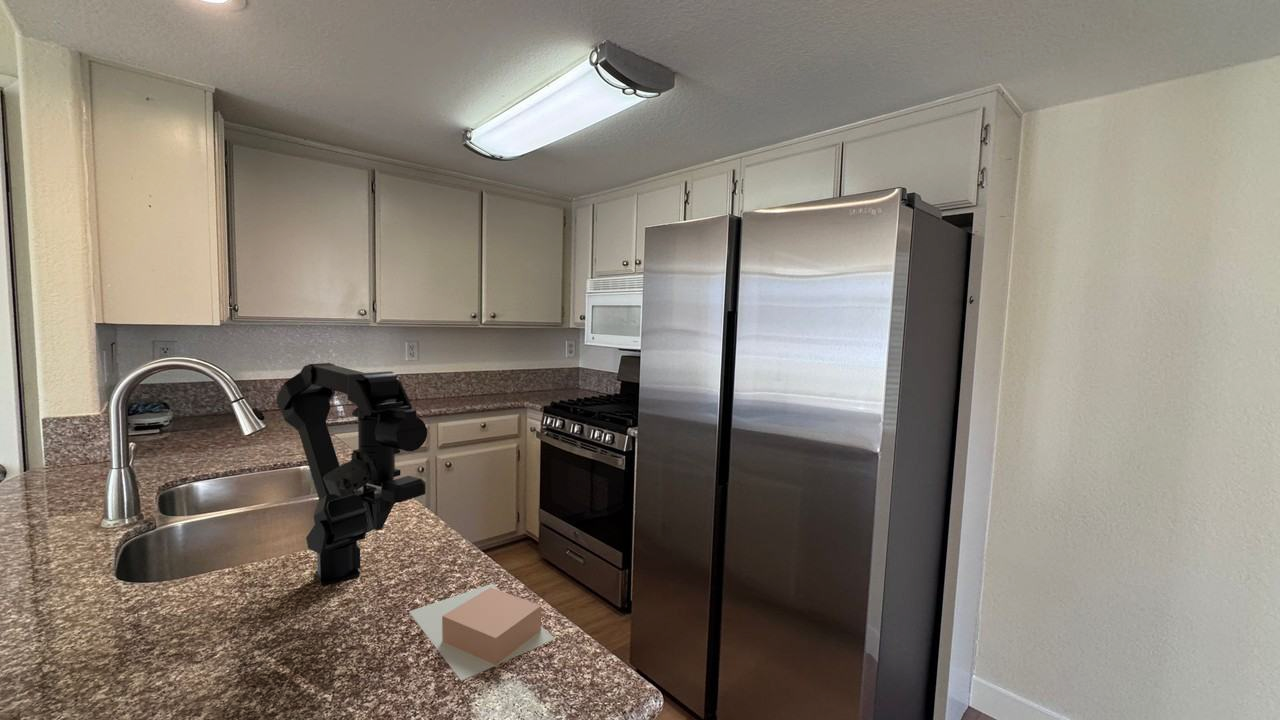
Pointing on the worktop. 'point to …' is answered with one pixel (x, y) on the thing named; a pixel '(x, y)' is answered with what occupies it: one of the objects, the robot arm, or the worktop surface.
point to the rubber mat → (455, 657)
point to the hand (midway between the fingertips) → (378, 529)
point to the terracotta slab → (491, 625)
